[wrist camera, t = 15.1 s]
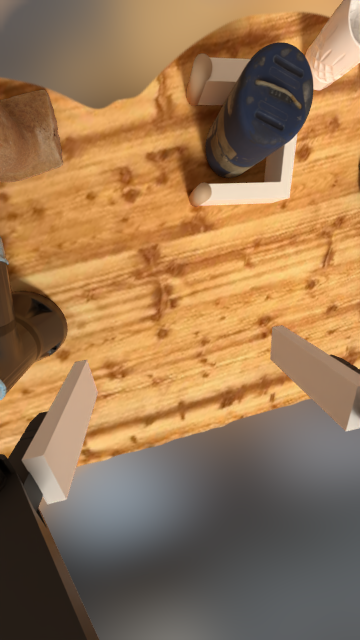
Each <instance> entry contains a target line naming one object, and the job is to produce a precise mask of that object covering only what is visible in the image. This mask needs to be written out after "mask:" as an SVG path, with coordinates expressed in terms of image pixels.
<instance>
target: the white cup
mask: <svg viewBox="0 0 360 640" xmlns="http://www.w3.org/2000/svg"><path fill="white" fill-rule="evenodd" d="M305 57H306V59H307V61H308V63H309V65H310V68H311V72H312V76H313V90H322V89H324V88H326V87H328V86H329V85H330V84H332V83H333V82H334V81H335V80H337V79H339V78H340V77H341V76H343V75H344V74H345V73H347V72H348V71H350V70H351V69H352V68H354V67H355V66H356V65H358V64H359V63H360V0H343V2H342V3H341V4H340V6H339V7H338V8H337V9H336V11H335V12H334V13H333V15H332V16H331V18H330V19H329V20H328V21H327V23H326V24H325V26H324V27H323V28H322V30H321V32H320V33H319V35H318V36H317V38H316V39H315V41H314V42H313V43H312V44H311V46H310V47H309V48H308V50H307V52H306V55H305Z"/></svg>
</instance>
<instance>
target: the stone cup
mask: <svg viewBox="0 0 360 640" xmlns="http://www.w3.org/2000/svg"><path fill="white" fill-rule="evenodd" d="M57 130H58V127H57V121H56V118H55V115H54V110H53V107H52V105H51V101H50V97H49V95H48V93H47V92H46V91H45V90H39V91H33V92H29V93H25V94H21V95H17V96H13V97H11V98H9V99H3V100H0V182H15V181H20V180H24V179H27V178H30V177H33V176H36V175H39V174H41V173H44V172H47V171H50V170H52V169H56V168H58V167H60V166H62V165H63V161H62V150H61V145H60V138H59V135H58V131H57Z"/></svg>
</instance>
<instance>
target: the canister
mask: <svg viewBox="0 0 360 640" xmlns="http://www.w3.org/2000/svg"><path fill="white" fill-rule="evenodd" d="M312 99H313V76H312V72H311V68H310V65H309V63H308V61H307V59H306V57H305V56H304V55H303V53H302V52H301V51H300V50H299V49H297V48H296V47H295V46H293V45H290V44H288V43H273V44H270V45H268V46H266V47H264V48H262V49H261V50H259V51H258V52H257V53H256V54H255V55H254V56H253V57H252V58H251V60H250V61H249V62H248V63H247V65H246V66H245V68H244V70H243V71H242V73H241V75H240V76H239V78H238V80H237V82H236V83H235V85H234V87H233V88H232V90H231V92H230V94H229V96H228V97H227V99H226V101H225V102H224V104H223V106H222V108H221V110H220V112H219V114H218V116H217V117H216V119H215V121H214V123H213V124H212V126H211V128H210V130H209V133H208V135H207V139H206V157H207V160H208V163H209V165H210V167H211V168H212V170H213V171H214V172H215V173H216V174H218V175H219V176H221V177H224V178H234V177H237V176H239V175H241V174H242V173H244V172H245V171H246V170H248V169H250V168H251V167H253V166H254V165H256V164H257V163H259V162H260V161H262V160H263V159H264V158H266V157H267V156H269V155H270V154H272V153H273V152H275V151H276V150H278V149H279V148H281V147H282V146H283V145H285V144H286V143H288V142H289V141H290V140H292V139H293V138H294V136H295V135H296V134H297V133H298V132H299V130H300V129H301V128H302V126H303V124H304V123H305V121H306V118H307V116H308V114H309V111H310V108H311V104H312Z"/></svg>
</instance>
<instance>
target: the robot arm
mask: <svg viewBox="0 0 360 640" xmlns="http://www.w3.org/2000/svg"><path fill="white" fill-rule="evenodd" d="M7 265H9V262H8V260H7V259H6V257H5V252H4V247H3V242H2V239H1V237H0V400H2V399H3V398H4V397H5V395H6V393H7V392H8V391H9V390H10V389H11V388H12V387H13V385H14V384H15V383H16V382H17V381H18V380H19V379H20V378H21V377H22V375H23V374H24V373H25V372H26V371H27V370H28V369H29V368H30V366H31V365H32V364H33V363H34V362H36V361H39V360H41V359H43V358H46V357H48V356H50V355H52V354H53V353H54V352H56V351H57V350H58V349H59V347H60V346H61V345H62V344H63V342H64V341H65V338H66V336H67V322H66V319H65V317H64V315H63V313H62V312H61V310H60V309H59V308H58V307H57V306H56V305H55V304H54V303H53V302H52V301H50V300H49V299H47V298H46V297H44V296H41V295H39V294H36V293H32V292H25V291H20V292H13V293H11V287H10V281H9V275H8V269H7ZM270 359H271V360H272V361H273V362H274V363H275V364H276V365H277V366H278V367H279V368H280V369H281V370H282V371H283V372H284V373H285V374H286V375H287V376H289V377H290V378H291V379H292V380H293V381H294V382H295V383H296V384H297V385H298V386H299V387H300V388H301V389H302V390H303V391H304V392H305V393H306V394H307V395H308V396H309V397H310V398H311V399H313V400H314V401H315V402H316V403H317V404H318V405H319V406H320V407H321V408H322V409H323V410H324V411H325V412H326V413H327V414H328V415H329V416H330V417H331V418H332V419H333V420H334V421H336V422H337V423H338V424H339V425H340V426H341V427H342V428H343V429H344V430H345V431H349V430H353V429H358V428H360V369H358V368H357V367H355V366H354V365H351V364H350V363H349V362H347V361H345V360H344V359H342V358H339V357H337V356H334V355H328V354H327V353H325V352H324V351H322V350H320V349H319V348H317V347H316V346H314V345H312V344H311V343H309V342H308V341H306V340H305V339H303V338H301V337H300V336H298V335H297V334H295V333H294V332H292V331H290V330H289V329H287V328H286V327H284V326H282V325H281V326H276V327H272V342H271V358H270ZM97 394H98V392H97V389H96V386H95V382H94V379H93V376H92V373H91V370H90V367H89V364H88V361H87V360H83V361H78V362H75V363H74V365H73V367H72V369H71V370H70V372H69V374H68V376H67V378H66V380H65V381H64V383H63V385H62V387H61V389H60V391H59V392H58V394H57V396H56V398H55V400H54V402H53V403H52V405H51V407H50V409H49V411H47V412H42V413H39V414H38V415H37V416H36V417H35V418H34V419H33V420H32V421H31V422H30V423H29V425H28V427H27V428H26V430H25V433H23V435H22V437H21V438H20V441H18V443H17V445H16V446H15V448H14V450H13V451H12V453H11V455H10V456H9V458H7V457H6V456H5V455H3V454H0V640H99V638H98V636H97V634H96V631H95V629H94V627H93V625H92V623H91V620H90V618H89V617H88V614H87V612H86V610H85V607H84V605H83V603H82V601H81V599H80V596H79V594H78V592H77V590H76V588H75V585H74V584H73V581H72V579H71V577H70V575H69V572H68V570H67V568H66V566H65V563H64V561H63V559H62V557H61V555H60V552H59V550H58V548H57V546H56V544H55V542H54V539H53V537H52V535H51V533H50V531H49V528H48V526H47V524H46V522H45V520H44V518H43V515H42V513H41V511H40V510H39V508H38V507H39V504H40V502H41V499H42V496H43V497H44V499H45V500H46V502H47V504H50V503H54V502H58V501H62V500H66V499H67V497H68V493H69V490H70V486H71V483H72V480H73V476H74V473H75V469H76V466H77V462H78V459H79V456H80V452H81V449H82V445H83V442H84V438H85V435H86V432H87V428H88V425H89V421H90V418H91V414H92V411H93V408H94V404H95V401H96V397H97Z"/></svg>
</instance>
